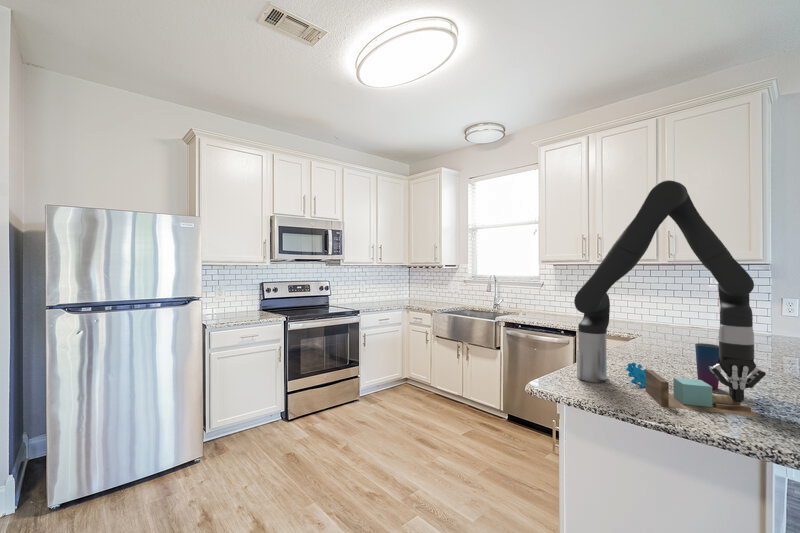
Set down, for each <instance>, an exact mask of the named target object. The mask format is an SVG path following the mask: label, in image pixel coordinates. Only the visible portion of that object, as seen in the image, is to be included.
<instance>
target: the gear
mask: <svg viewBox="0 0 800 533" xmlns="http://www.w3.org/2000/svg"><path fill="white" fill-rule="evenodd" d="M626 365H627V367H626V369H625V370H626V371H627V372H628V373H627V374H628V375H627V376H628V378H633V379H631V380H630V381H629V382H631V383H634V384H637V383H638V382H639V384H638V387H640V388H645V370H648V369H647V368H644V369H642V368H643V366H642V364H640V363H638V364H637V363H636V362H632V363H628V364H626Z"/></svg>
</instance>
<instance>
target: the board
mask: <svg viewBox="0 0 800 533" xmlns="http://www.w3.org/2000/svg"><path fill="white" fill-rule="evenodd" d="M669 387H670V385H669V381H668V380H666V379H665V378H664V377H662V376H661V375H659V374H658V373H657V372H655V371H654V370H653V369H647V370H645V384H644V389H645V390H644V391H645V393H646V394H648V396H650V398H651V399H653V400H654V401H655V402H656V403H657V404H658V405H659V407H663V408H674V409H682V410H691V411H699V412H700V411H701V412H708V413H709V412H711V413H719V414H730V415H736V416H737V415H738V416H747V417H748V416H750V417H759V418H762V415H760V414H757V412H754V411H752V407H750V406H746V405H745V406H744V405H742V404H741V403H740V402H734V401H733V404H732V405H726V404H717V403H714V405H712V407H705V406H696V405H686V404H682V403H681V402H680V401H679V400H677V399H676V398H675V397H674V396H673V393H669V392H670V391H669V390H670V389H669Z"/></svg>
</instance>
